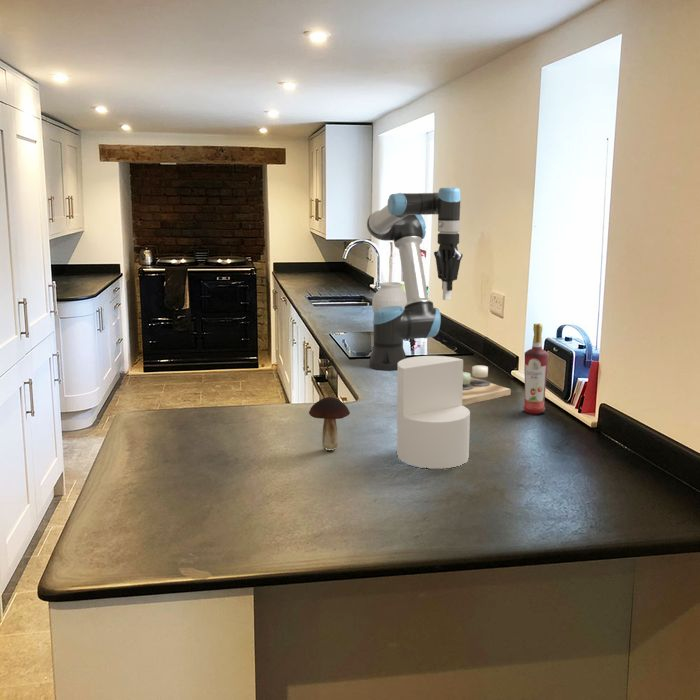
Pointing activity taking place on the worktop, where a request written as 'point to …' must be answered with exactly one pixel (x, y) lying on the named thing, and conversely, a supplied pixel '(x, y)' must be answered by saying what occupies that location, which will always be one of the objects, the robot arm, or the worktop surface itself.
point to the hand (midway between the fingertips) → (446, 299)
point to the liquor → (535, 374)
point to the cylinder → (432, 412)
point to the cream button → (479, 371)
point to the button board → (482, 391)
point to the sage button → (466, 378)
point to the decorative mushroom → (329, 418)
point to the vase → (389, 296)
